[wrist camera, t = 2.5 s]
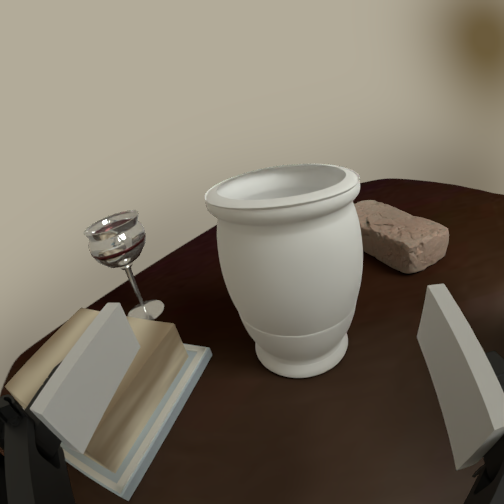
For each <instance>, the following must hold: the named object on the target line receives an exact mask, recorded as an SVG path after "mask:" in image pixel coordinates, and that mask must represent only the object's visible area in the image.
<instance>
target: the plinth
mask: <svg viewBox="0 0 504 504" xmlns="http://www.w3.org/2000/svg"><path fill="white" fill-rule="evenodd" d="M99 313H100V311H95V310H90V309H85V308H80V309H79V310H78V311H77V312H76V313H75V314H74V315H73V316H72V317H71V318H70V319H69V320H68V321H67V322H66V323H65V324H64V325H63V326H62V327H61V328H60V329H59V330H58V331H57V332H56V333H55V334H54V335H53V336H52V337H51V338H50V339H49V340H48V341H47V342H46V343H45V344H44V345H43V346H42V347H41V348H40V349H39V350H38V351H37V352H36V353H35V354H34V355H33V356H32V357H31V358H30V359H29V360H28V361H27V363H26V364H25V365H24V366H23V367H22V368H21V369H20V370H19V371H18V372H17V373H16V374H15V376H14V377H13V378H12V379H11V380H10V381H9V382H8V383H7V384H6V386H5V387H6V389H7V390H8V391H9V392H10V393H11V394H12V396H13V397H14V398H15V399H16V400H17V401H18V402H19V404H20V405H21V406H22V407H23V408H24V409H26V407H27V406H28V404H29V403H30V401H31V400H32V398H33V397H34V395H35V394H36V393H37V391H38V390H39V388H40V387H41V385H43V382H44V381H45V380H46V378H48V375H49V374H50V373H51V371H52V370H53V368H54V367H55V366H57V365H58V364H59V363H60V362H61V361H63V360H64V358H65V357H66V356H67V354H68V353H69V352H70V350H71V349H72V348H73V346H74V345H75V344H76V342H77V341H78V340H79V338H80V337H81V336H82V334H83V333H84V332H85V330H86V329H87V328H88V327H89V325H90V324H91V323H92V321H93V320H94V319H95V318H96V316H97V315H98V314H99ZM126 318H127V320H128V322H129V324H130V326H131V328H132V330H133V332H134V334H135V336H136V338H137V340H138V342H139V344H140V346H141V347H140V349H139V350H138V352H137V354H136V356H135V358H134V359H133V361H132V363H131V365H130V366H129V368H128V370H127V372H126V374H125V375H124V377H123V379H122V381H121V383H120V384H119V386H118V388H117V390H116V392H115V394H114V396H113V397H112V399H111V401H110V403H109V405H108V407H107V409H106V411H105V412H104V414H103V416H102V418H101V420H100V422H99V424H98V426H97V428H96V430H95V432H94V434H93V436H92V438H91V440H90V442H89V444H88V446H87V448H86V450H85V452H84V455H85V456H87V457H88V458H90V459H91V460H93V461H95V462H96V463H98V464H99V465H101V466H103V467H105V468H106V469H108V470H110V471H111V472H113V473H116V472H117V470H118V468H119V467H120V465H121V464H122V462H123V460H124V459H125V457H126V456H127V454H128V452H129V451H130V449H131V448H132V446H133V445H134V443H135V441H136V440H137V438H138V437H139V435H140V433H141V432H142V430H143V429H144V427H145V425H146V424H147V422H148V421H149V419H150V417H151V416H152V414H153V413H154V411H155V409H156V408H157V406H158V405H159V403H160V402H161V400H162V398H163V397H164V395H165V394H166V392H167V390H168V389H169V387H170V386H171V384H172V382H173V381H174V379H175V378H176V376H177V374H178V373H179V371H180V370H181V368H182V366H183V365H184V363H185V362H186V360H187V358H188V357H189V356H188V354H187V352H186V350H185V347H184V345H183V343H182V341H181V338H180V336H179V334H178V331H177V329H176V327H175V324H173V323H166V322H159V321H152V320H146V319H140V318H133V317H128V316H126Z"/></svg>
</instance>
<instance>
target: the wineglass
mask: <svg viewBox="0 0 504 504" xmlns="http://www.w3.org/2000/svg"><path fill="white" fill-rule="evenodd" d="M138 214H139V213H138V211H136V210H129V211H123V212H120V213H116V214H113V215H110V216H108V217H105V218H103V219H101V220H99V221H97V222H95V223H94V224H92V225H91V226H89V227H88V228H87V229H86V230H85V231H84V235H86V236H87V237H88V238H89V245H88V246H89V251H90V253H91V255H92V256H93V257H94V258H95V259H96V260H97V261H98V262H99V263H100V264H103V265H105V266H108V267H111V268H115V267H120V268H121V269H123V270H125V272H126V274H127V276H128V278H129V281H130V283H131V285H132V287H133V289H134V291H135V293H136V296H137V298H138V300H139V302H140V303H139V304H138V305H136V306H135V307H133V308H132V309H131V311H130V312H129V314H128V317H133V318H140V319H146V320H154V319H155V318H157V317H158V316H159V315H160V314H161V313H162V311H163V309H164V304H163V303H162V302H161V301H159V300H148V301H144V302H143V300H142V298H141V295H140V292H139V290H138V287H137V284H136V281H135V278H134V276H133V273H132V270H131V266H132V264H133V261H134V260H135V259H137V257H138V256H139V255H140V253H141V251H142V249H143V247H144V244H145V238H146V236H145V230H144V227H143V226H142V224H141V223H140V222H139V221H138Z"/></svg>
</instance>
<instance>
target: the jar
mask: <svg viewBox="0 0 504 504" xmlns="http://www.w3.org/2000/svg"><path fill="white" fill-rule="evenodd" d="M359 180H360V176H359V174H358V173H357V172H355V171H354V170H352V169H349V168H346V167H341V166H336V165H327V164H294V165H283V166H276V167H269V168H264V169H259V170H255V171H251V172H247V173H244V174H241V175H238V176H235V177H232V178H229V179H227V180H224V181H222V182H220V183H218V184H216V185H215V186H213V187H212V188H210V189H209V190H208V191H207V192H206V194H205V200H206V207H207V209H208V211H209V212H210V213H211V214H212V215H213V216H215V217H216V218H218V222H217V244H218V253H219V260H220V265H221V270H222V274H223V277H224V281H225V284H226V287H227V289H228V292H229V294H230V297H231V299H232V301H233V303H234V305H235V307H236V308H237V310H238V312H239V315H240V318H241V320H242V322H243V324H244V326H245V328H246V330H247V331H248V333H249V335H250V336H251V337H252V339H253V340H254V341H255V342H256V343H255V349H256V354H257V356H258V358H259V360H260V362H261V363H262V364H263V365H264V366H265V367H266V368H267V369H269V370H270V371H272V372H274V373H276V374H278V375H281V376H285V377H291V378H306V377H312V376H316V375H319V374H322V373H324V372H326V371H328V370H330V369H331V368H333V367H334V366H335V365H337V364H338V363H339V362H340V360H341V359H342V358H343V356H344V355H345V353H346V350H347V347H348V336H347V333H346V332H347V331H348V329H349V327H350V324H351V322H352V319H353V315H354V312H355V307H356V300H357V297H358V293H359V289H360V284H361V278H362V269H363V245H362V236H361V229H360V223H359V219H358V215H357V212H356V209H355V206H354V204H353V200H354V199H355V198H356V197H357V195H358V193H359V191H360V182H359Z"/></svg>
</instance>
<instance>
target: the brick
mask: <svg viewBox="0 0 504 504" xmlns="http://www.w3.org/2000/svg"><path fill="white" fill-rule="evenodd" d="M354 206H355V209H356V212H357V215H358V219H359V223H360V229H361V236H362V245H363V250H364V251H365V252H366V253H368V254H370V255H371V256H375V257H376V259H378V260H380V261H381V262H383V263H385V264H387V265H388V266H390V267H392V268H393V269H396V270H398V271H401V272H403V273H407V274H410V273H416V272H418V271H421V270H423V269H425V268H426V267H427V266H430V265H433V264H435V263H436V262H437V260H439V259H441V258H443V257H444V255H445V253H446V249H447V246H448V241H449V231H448V228H446V227H444V226H443V225H441V224H439V223H436V222H433V221H431V220H427V219H424V218H422V217H416V216H412V215H411V214H408V213H406V212H404V211H401V210H398V209H397V208H394V207H392V206H390V205H387V204H383V203H380V202H376V201H374V200H366V201H361V202H358V203H356V204H354Z"/></svg>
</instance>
